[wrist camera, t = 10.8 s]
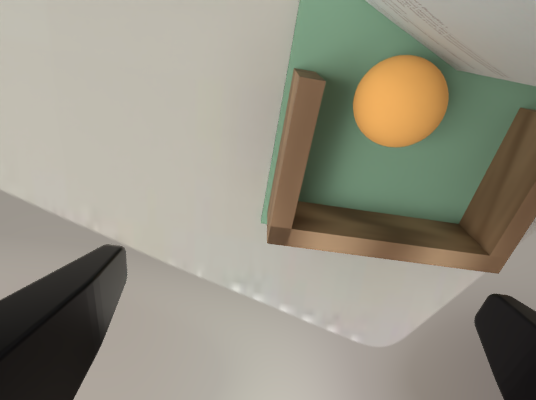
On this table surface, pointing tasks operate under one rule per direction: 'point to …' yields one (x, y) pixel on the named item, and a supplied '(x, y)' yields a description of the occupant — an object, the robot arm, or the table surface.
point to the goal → (395, 226)
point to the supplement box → (472, 33)
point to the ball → (400, 101)
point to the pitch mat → (381, 157)
